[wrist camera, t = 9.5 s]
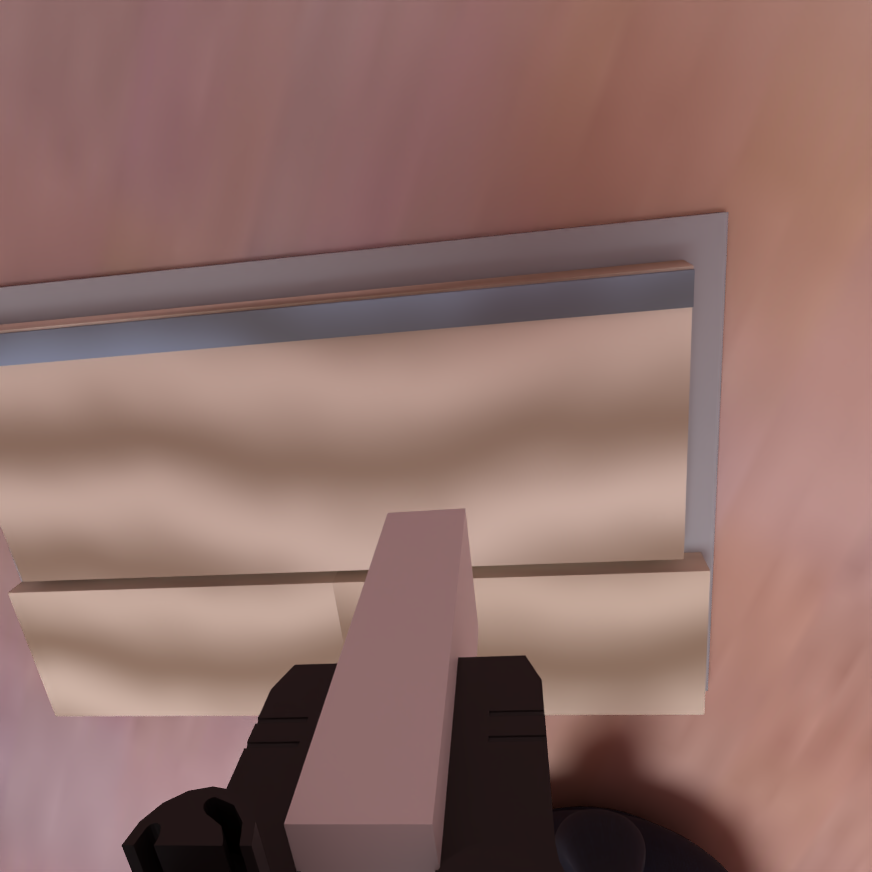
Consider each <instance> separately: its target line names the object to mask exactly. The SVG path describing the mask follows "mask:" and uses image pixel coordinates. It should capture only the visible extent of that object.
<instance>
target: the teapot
mask: <svg viewBox="0 0 872 872" xmlns="http://www.w3.org/2000/svg"><path fill="white" fill-rule="evenodd" d="M552 810H553V822H554V834H555V844H556V848H557V853H558V857H559V861H560V863H561V865H562V867H563V869H564V871H565V872H728V871H727V870H726V869H725V868H724V867H723V866H722V865H721V864H720V863H719V862H717V861H716V860H715V859H714V858H713V857H712V856H710V855H709V854H708V853H707V852H705V851H704V850H703V849H701V848H700V847H698V846H697V845H695V844H694V843H692V842H691V841H689V840H688V839H686V838H684V837H682V836H680V835H679V834H677V833H675V832H673V831H671V830H669V829H666V828H664V827H662V826H659V825H657V824H654V823H652V822H650V821H647V820H645V819H643V818H640V817H637V816H635V815H632V814H628V813H625V812H621V811H616V810H611V809H605V808H596V807H565V808H557V809H552Z"/></svg>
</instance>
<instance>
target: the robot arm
mask: <svg viewBox="0 0 872 872" xmlns="http://www.w3.org/2000/svg"><path fill="white" fill-rule="evenodd" d="M477 646H478V619H477V610H476V601H475V592H474V582H473V573H472V564H471V555H470V546H469V537H468V528H467V519H466V509H465V508H461V509H444V510H427V511H410V512H393V513H387V516H386V519H385V522H384V525H383V528H382V531H381V534H380V537H379V540H378V543H377V546H376V549H375V552H374V555H373V558H372V561H371V564H370V567H369V570H368V573H367V576H366V579H365V582H364V585H363V588H362V591H361V594H360V597H359V600H358V603H357V606H356V609H355V612H354V615H353V618H352V621H351V624H350V627H349V630H348V633H347V636H346V639H345V642H344V645H343V648H342V651H341V654H340V657H339V660H338V663H334V664H301V665H294V666H293V667H292V668H291V669H290V670H289V671H288V672H287V673H286V674H285V675H284V676H283V677H282V678H281V679H280V680H279V681H278V682H277V683H276V684H275V686H274V687H273V688H272V689H271V690H270V692H269V694H268V697H267V699H266V701H265V703H264V706H263V708H262V710H261V712H260V715H259V717H258V724H255V726H254V728H253V730H252V733H251V735H250V737H249V739H248V742H247V748H244V751H243V753H242V755H241V757H240V759H239V762H238V764H237V766H236V768H235V771H234V773H233V775H232V777H231V780H230V782H229V784H228V786H227V789H224V788H218V787H208V788H202V789H196V790H191V791H187V792H185V793H183V794H181V795H179V796H177V797H175V798H172V799H170V800H168V801H166V802H164V803H162V804H161V805H160V806H159V807H157V808H156V809H155V810H154V811H152V812H151V813H150V814H149V815H147V816H146V817H145V818H144V819H142V820H141V821H140V822H139V823H138V825H137V826H136V827H135V828H134V830H133V831H132V832H131V834H130V835H129V836H128V838H127V839H126V840H125V842H124V843H123V844H122V847H123V850H124V852H125V855H126V857H127V860H128V862H129V865H130V868H131V870H132V872H565V871H564V869H563V867H562V865H561V863H560V861H559V857H558V853H557V848H556V844H555V834H554V822H553V810H552V798H551V786H550V774H549V762H548V749H547V738H546V725H545V713H544V701H543V689H542V680H541V678H540V676H539V675H538V673H537V672H536V670H535V669H534V667H533V666H532V664H531V663H530V661H529V660H528V658H527V657H526V655H519V656H487V657H477Z"/></svg>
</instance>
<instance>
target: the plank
mask: <svg viewBox="0 0 872 872" xmlns="http://www.w3.org/2000/svg"><path fill="white" fill-rule="evenodd" d="M694 280H695V269H694V266H693V265H692V264H690V263H688V262H686V261H685V260H675V261H665V262H654V263H644V264H633V265H623V266H612V267H602V268H591V269H581V270H570V271H559V272H549V273H538V274H528V275H517V276H507V277H496V278H486V279H475V280H465V281H454V282H444V283H433V284H423V285H412V286H402V287H391V288H381V289H370V290H359V291H349V292H338V293H328V294H317V295H307V296H296V297H286V298H275V299H265V300H254V301H244V302H233V303H223V304H212V305H202V306H191V307H181V308H170V309H159V310H149V311H138V312H128V313H117V314H107V315H96V316H86V317H75V318H65V319H54V320H44V321H33V322H23V323H12V324H2V325H0V526H1V529H2V531H3V534H4V536H5V539H6V541H7V544H8V546H9V549H10V551H11V554H12V556H13V559H14V561H15V563H16V566H17V568H18V571H19V573H20V576H21V578H22V581H23V582H27V581H56V580H86V579H115V578H144V577H174V576H203V575H233V574H262V573H291V572H321V571H350V570H369V567H370V564H371V561H372V558H373V555H374V552H375V549H376V546H377V543H378V540H379V537H380V534H381V531H382V528H383V525H384V522H385V519H386V516H387V513H393V512H410V511H427V510H444V509H461V508H465V509H466V519H467V528H468V537H469V546H470V555H471V564H472V566H497V565H526V564H556V563H585V562H614V561H644V560H673V559H684V540H685V510H686V480H687V450H688V421H689V391H690V361H691V331H692V307H694Z"/></svg>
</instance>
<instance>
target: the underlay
mask: <svg viewBox="0 0 872 872" xmlns="http://www.w3.org/2000/svg"><path fill="white" fill-rule="evenodd" d="M727 234H728V212H718V213H708V214H699V215H689V216H679V217H670V218H660V219H650V220H641V221H631V222H622V223H612V224H602V225H593V226H583V227H573V228H564V229H554V230H545V231H535V232H525V233H516V234H506V235H496V236H487V237H477V238H468V239H458V240H448V241H439V242H429V243H419V244H410V245H400V246H391V247H381V248H371V249H362V250H352V251H342V252H333V253H323V254H314V255H304V256H294V257H285V258H275V259H265V260H256V261H246V262H237V263H227V264H217V265H208V266H198V267H188V268H179V269H169V270H160V271H150V272H140V273H131V274H121V275H111V276H102V277H92V278H83V279H73V280H63V281H54V282H44V283H34V284H25V285H15V286H6V287H0V325H2V324H12V323H23V322H33V321H44V320H54V319H65V318H75V317H86V316H96V315H107V314H117V313H128V312H138V311H149V310H159V309H170V308H181V307H191V306H202V305H212V304H223V303H233V302H244V301H254V300H265V299H275V298H286V297H296V296H307V295H317V294H328V293H338V292H349V291H359V290H370V289H381V288H391V287H402V286H412V285H423V284H433V283H444V282H454V281H465V280H475V279H486V278H496V277H507V276H517V275H528V274H538V273H549V272H559V271H570V270H581V269H591V268H602V267H612V266H623V265H633V264H644V263H654V262H665V261H675V260H685V261H686V262H688V263H690V264H692V265H693V266H694V269H695V280H694V307H692V331H691V361H690V391H689V421H688V450H687V480H686V510H685V540H684V553H688V552H701V554H702V556H703V558H704V560H705V561H706V563H707V565H708V567H709V569H710V590H709V614H708V638H707V662H706V686H705V691H708V672H709V649H710V626H711V603H712V580H713V557H714V534H715V511H716V488H717V465H718V442H719V418H720V395H721V372H722V349H723V326H724V303H725V280H726V257H727ZM8 547H9V546H8ZM10 552H11V551H10ZM11 555H12V554H11ZM12 557H13V556H12ZM13 560H14V559H13ZM14 563H15V561H14ZM15 565H16V563H15ZM16 568H17V566H16ZM17 571H18V568H17ZM18 573H19V571H18ZM19 576H20V573H19ZM20 579H21V581H22V578H21V576H20Z"/></svg>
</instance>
